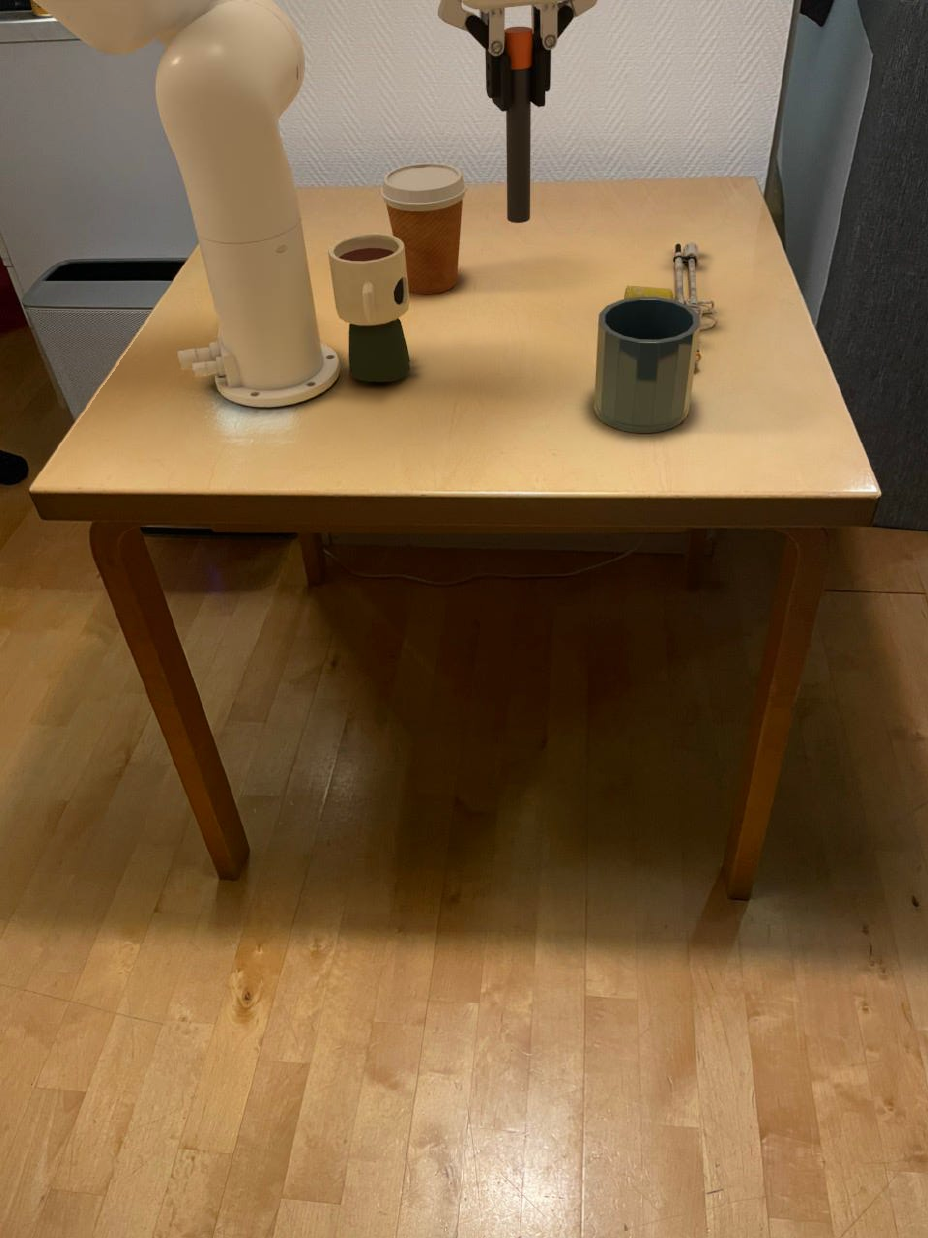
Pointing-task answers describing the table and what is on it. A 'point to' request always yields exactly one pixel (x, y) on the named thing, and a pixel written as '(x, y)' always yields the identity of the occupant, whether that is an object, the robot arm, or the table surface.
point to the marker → (519, 123)
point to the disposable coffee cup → (427, 222)
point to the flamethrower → (678, 285)
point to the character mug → (372, 303)
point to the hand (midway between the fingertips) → (518, 102)
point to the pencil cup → (645, 363)
